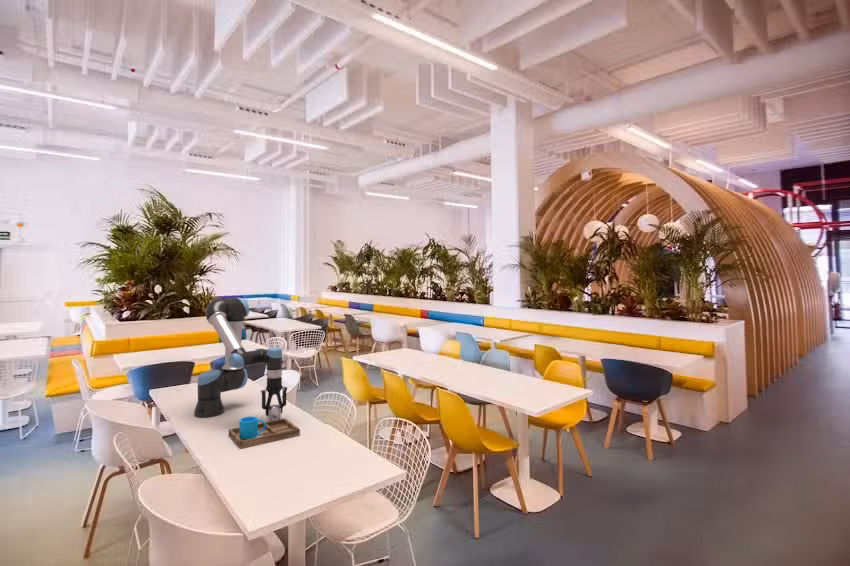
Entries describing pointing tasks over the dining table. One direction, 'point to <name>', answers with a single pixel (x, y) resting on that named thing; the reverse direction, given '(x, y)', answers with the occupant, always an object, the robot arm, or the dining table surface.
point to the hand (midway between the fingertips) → (274, 420)
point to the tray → (267, 433)
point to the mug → (249, 427)
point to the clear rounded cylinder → (274, 412)
